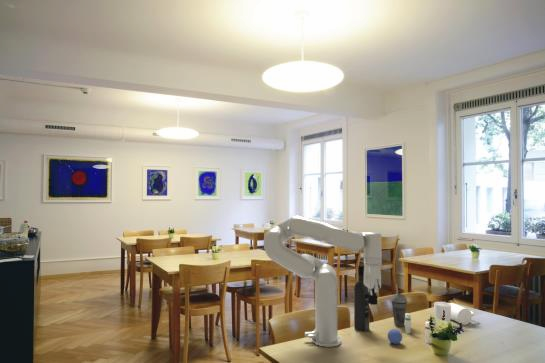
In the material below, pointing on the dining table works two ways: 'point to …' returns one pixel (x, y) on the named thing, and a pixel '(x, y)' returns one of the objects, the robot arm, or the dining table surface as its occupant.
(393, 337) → the ball
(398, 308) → the beverage cup
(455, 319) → the mug
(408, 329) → the pin
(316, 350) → the dining table surface
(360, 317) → the wine bottle
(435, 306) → the white cup
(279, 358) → the dining table surface
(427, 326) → the pin
